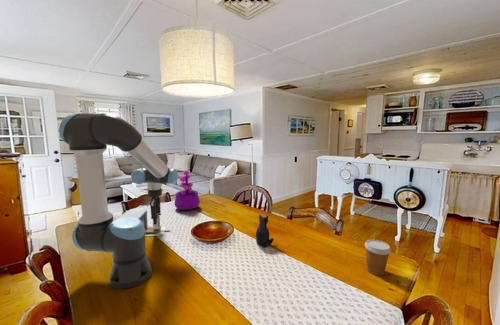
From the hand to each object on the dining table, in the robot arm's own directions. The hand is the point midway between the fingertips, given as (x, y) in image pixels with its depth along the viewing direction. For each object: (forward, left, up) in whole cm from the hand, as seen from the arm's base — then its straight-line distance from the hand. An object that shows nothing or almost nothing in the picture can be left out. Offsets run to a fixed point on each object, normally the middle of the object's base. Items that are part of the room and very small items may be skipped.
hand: (156, 227), depth 133 cm
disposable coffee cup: (-79, -83, -3) cm, 114 cm away
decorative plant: (+36, -23, -3) cm, 43 cm away
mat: (0, +1, -3) cm, 3 cm away
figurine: (-39, -51, -3) cm, 64 cm away
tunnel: (+3, +9, -3) cm, 10 cm away
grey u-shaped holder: (+2, +6, -2) cm, 7 cm away
